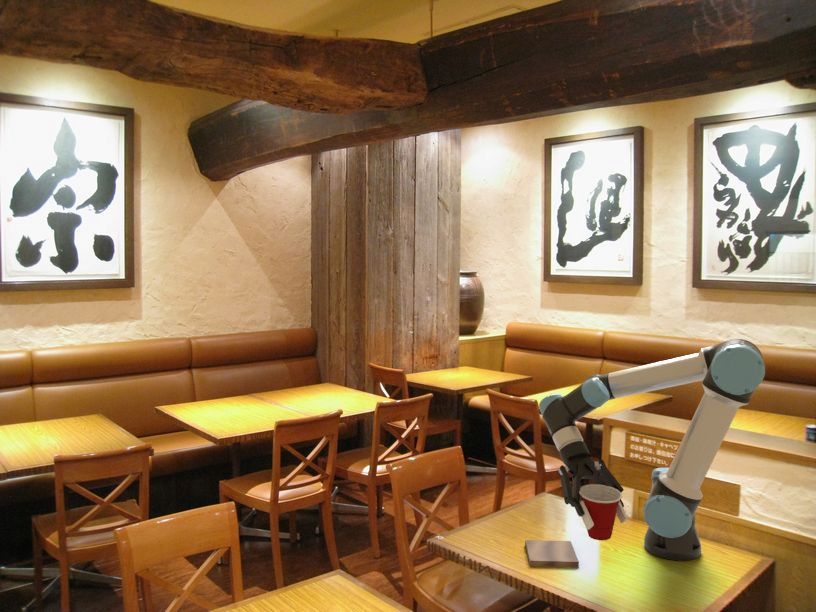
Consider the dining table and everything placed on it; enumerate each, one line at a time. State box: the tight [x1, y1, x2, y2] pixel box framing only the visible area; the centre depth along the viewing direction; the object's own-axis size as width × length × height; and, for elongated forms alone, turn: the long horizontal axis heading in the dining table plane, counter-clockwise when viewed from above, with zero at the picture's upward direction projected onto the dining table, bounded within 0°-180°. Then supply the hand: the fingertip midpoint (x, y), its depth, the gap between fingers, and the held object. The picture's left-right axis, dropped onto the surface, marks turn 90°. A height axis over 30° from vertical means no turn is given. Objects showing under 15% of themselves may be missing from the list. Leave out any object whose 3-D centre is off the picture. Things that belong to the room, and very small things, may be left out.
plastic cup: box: [579, 483, 623, 541], centre depth 174 cm, size 11×11×12 cm
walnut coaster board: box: [524, 539, 580, 568], centre depth 189 cm, size 13×13×2 cm
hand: (607, 523), depth 171 cm, fingers closed on plastic cup, 10 cm apart
